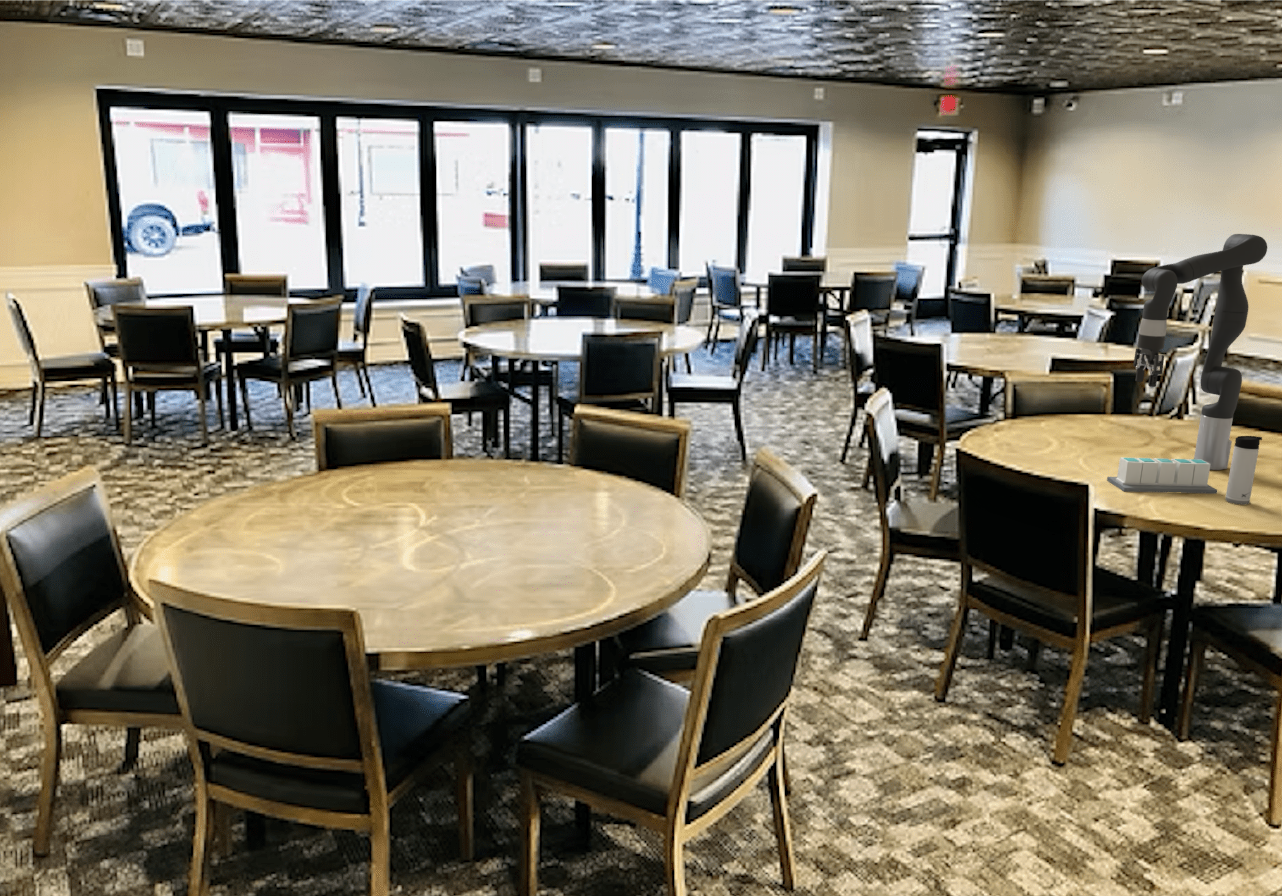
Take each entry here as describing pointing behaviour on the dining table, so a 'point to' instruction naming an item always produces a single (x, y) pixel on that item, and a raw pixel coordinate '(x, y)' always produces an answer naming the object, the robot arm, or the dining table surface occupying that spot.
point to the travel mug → (1242, 469)
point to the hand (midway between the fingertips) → (1145, 384)
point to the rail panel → (1144, 471)
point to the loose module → (1165, 471)
